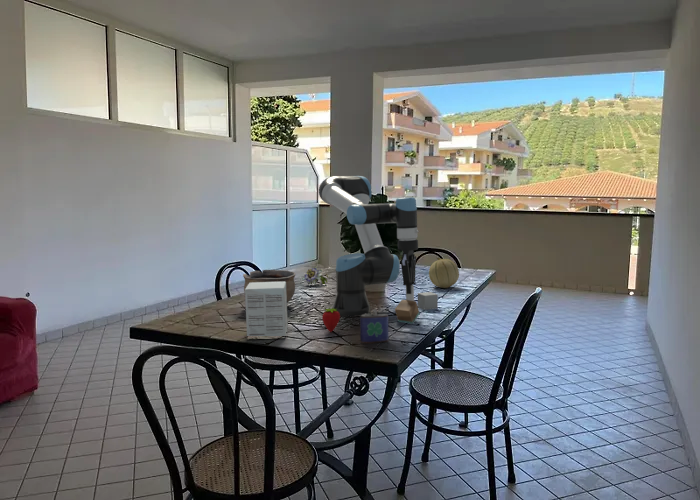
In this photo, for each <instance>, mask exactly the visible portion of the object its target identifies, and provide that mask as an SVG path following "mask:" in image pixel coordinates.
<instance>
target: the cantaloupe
mask: <svg viewBox="0 0 700 500" xmlns="http://www.w3.org/2000/svg"><path fill="white" fill-rule="evenodd" d="M436 259H437V260H435V261H434V262H432V263H431V265H430V267H429V269H428V277H429V280H430V281H431V283H432V284H433V285H434V286H435V287H436V288H441V289H448V288H450V287H452V286H454V285H455V284H456V283H457V282H458V280H459V277H460V270H459V268H458V266H457V264H456V263H455V262H454V261H453V260H451V259H448V258H439V257H438V258H436Z"/></svg>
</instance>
